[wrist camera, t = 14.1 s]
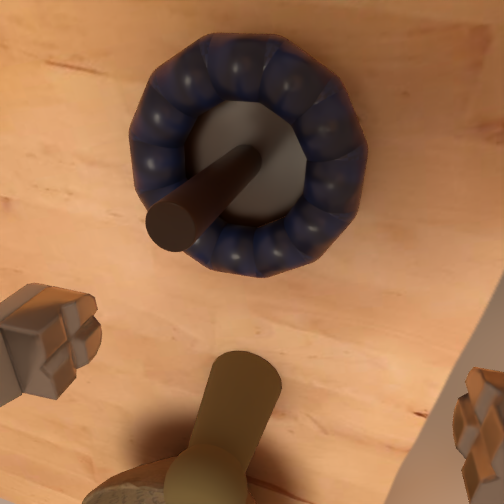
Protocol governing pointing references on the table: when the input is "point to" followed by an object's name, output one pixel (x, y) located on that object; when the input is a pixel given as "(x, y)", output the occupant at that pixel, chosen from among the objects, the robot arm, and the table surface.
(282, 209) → the post
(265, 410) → the olive game pawn
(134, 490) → the bowl
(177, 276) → the table surface
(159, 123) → the ring
